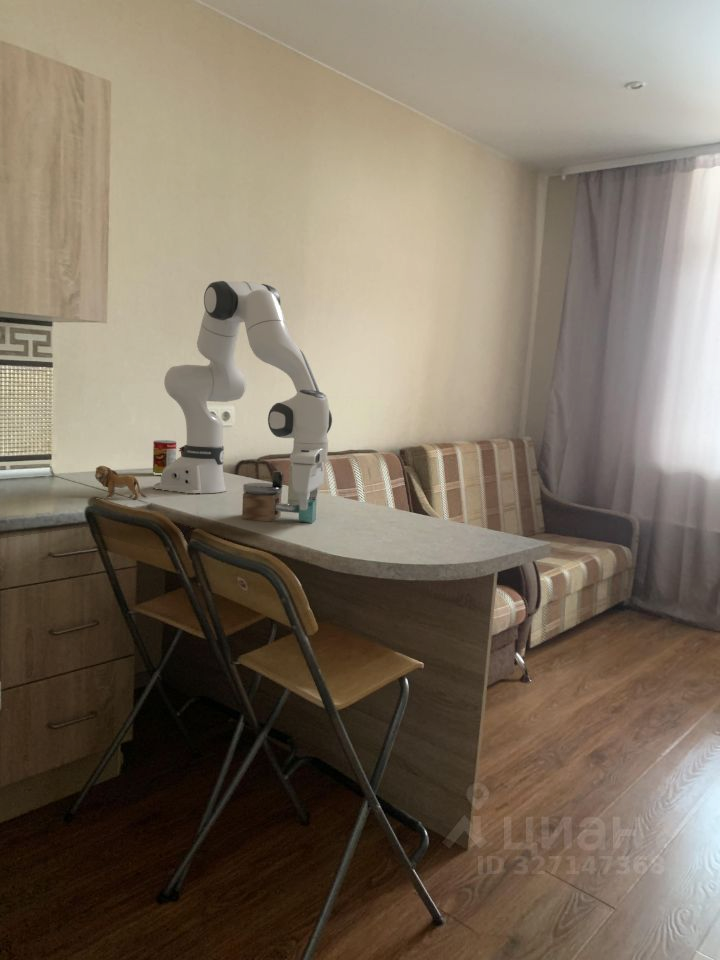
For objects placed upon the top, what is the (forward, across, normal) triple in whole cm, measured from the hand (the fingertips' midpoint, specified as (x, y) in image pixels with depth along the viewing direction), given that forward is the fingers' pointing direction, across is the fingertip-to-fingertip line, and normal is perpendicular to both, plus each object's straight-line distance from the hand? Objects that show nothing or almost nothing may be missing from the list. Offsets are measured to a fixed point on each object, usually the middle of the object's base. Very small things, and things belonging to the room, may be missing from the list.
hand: (308, 506), depth 188 cm
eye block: (+4, 0, -12) cm, 13 cm away
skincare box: (+4, -22, -9) cm, 24 cm away
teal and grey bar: (+4, 0, -8) cm, 9 cm away
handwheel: (-3, 0, -12) cm, 13 cm away
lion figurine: (+4, -11, -59) cm, 60 cm away
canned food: (+3, -61, -68) cm, 91 cm away
